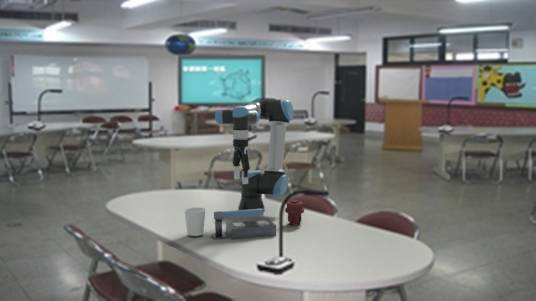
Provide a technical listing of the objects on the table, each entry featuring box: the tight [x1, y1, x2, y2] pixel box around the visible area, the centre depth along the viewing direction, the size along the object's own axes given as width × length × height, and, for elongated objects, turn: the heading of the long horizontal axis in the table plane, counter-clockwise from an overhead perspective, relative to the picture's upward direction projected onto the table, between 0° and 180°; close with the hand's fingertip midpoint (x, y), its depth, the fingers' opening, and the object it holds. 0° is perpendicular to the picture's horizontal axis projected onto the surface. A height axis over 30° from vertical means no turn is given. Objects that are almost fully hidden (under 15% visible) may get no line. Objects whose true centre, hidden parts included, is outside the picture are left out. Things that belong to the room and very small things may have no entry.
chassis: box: [225, 219, 277, 240], centre depth 263 cm, size 12×22×5 cm, turn 108°
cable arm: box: [213, 209, 264, 221], centre depth 260 cm, size 24×4×3 cm, turn 108°
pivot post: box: [210, 219, 227, 240], centre depth 258 cm, size 6×6×9 cm
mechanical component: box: [284, 199, 305, 226], centre depth 282 cm, size 12×10×10 cm
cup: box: [184, 206, 206, 238], centre depth 261 cm, size 10×10×13 cm
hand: (241, 181), depth 267 cm, fingers open, 13 cm apart
